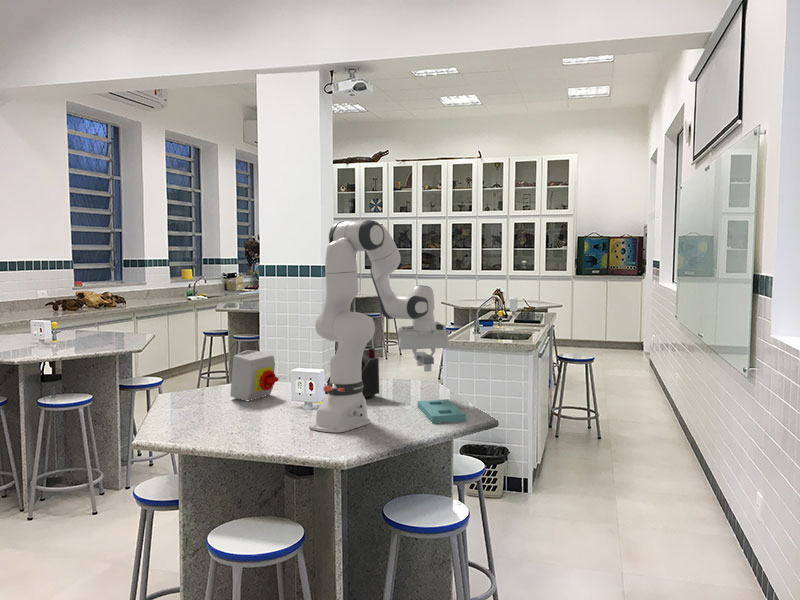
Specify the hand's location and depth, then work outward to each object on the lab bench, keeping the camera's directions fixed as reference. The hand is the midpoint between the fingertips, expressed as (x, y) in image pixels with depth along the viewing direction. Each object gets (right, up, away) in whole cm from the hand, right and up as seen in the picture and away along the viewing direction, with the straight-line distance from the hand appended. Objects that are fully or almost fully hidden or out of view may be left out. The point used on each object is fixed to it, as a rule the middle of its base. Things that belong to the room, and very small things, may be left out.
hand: (423, 359), depth 257 cm
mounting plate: (+5, -18, -24) cm, 30 cm away
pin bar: (0, -3, 0) cm, 3 cm away
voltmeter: (-30, -17, +7) cm, 35 cm away
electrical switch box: (-69, -17, +9) cm, 72 cm away
